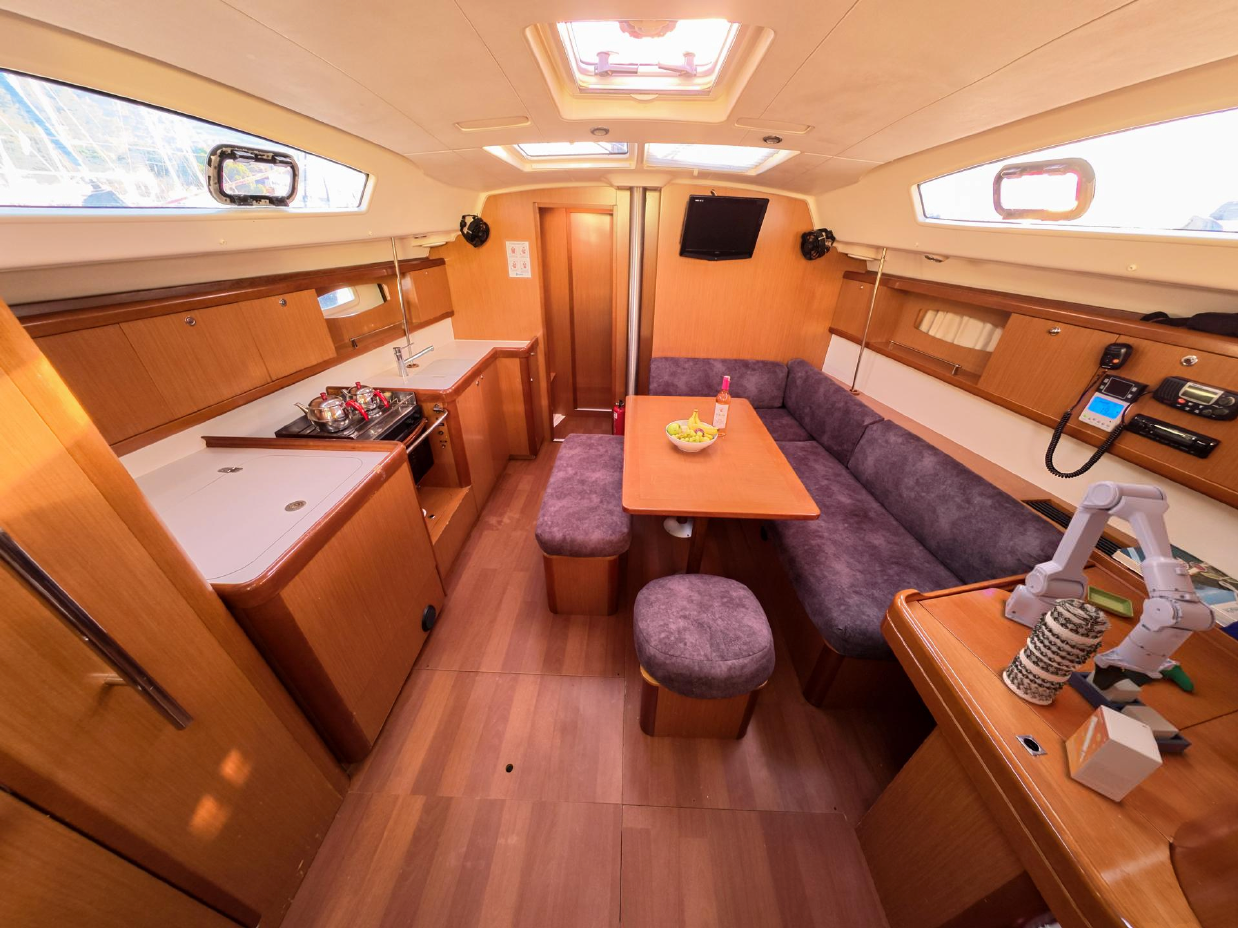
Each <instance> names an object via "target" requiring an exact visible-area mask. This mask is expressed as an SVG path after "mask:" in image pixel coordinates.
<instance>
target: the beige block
mask: <svg viewBox="0 0 1238 928" xmlns="http://www.w3.org/2000/svg"><path fill="white" fill-rule="evenodd" d="M1121 713H1123V714H1124V715H1126V716H1128V717H1130V718H1132V719H1135V720H1137V721H1139V722H1141V723H1143V724H1145V725H1148V726H1150V728H1151V731H1152V733H1153V736H1154V739H1171V738H1172V737H1173V736H1174V735H1175V734H1177V733H1180V730H1179V729H1177V727H1175V726H1174V725H1173V724H1172V723H1171V722H1170V721H1168V720H1167V719H1166V718H1165V717H1164V716H1162V715H1161V714H1160V713H1159V712H1158V711H1156V710H1155V709H1154V708H1153V707H1151V706H1149V705H1147V706H1126V707H1125V708H1124V709H1123V710H1122V711H1121Z"/></svg>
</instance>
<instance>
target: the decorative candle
mask: <svg viewBox="0 0 1238 928" xmlns="http://www.w3.org/2000/svg"><path fill="white" fill-rule="evenodd" d="M1041 615H1042V616H1041V617H1040V620H1038V621H1037V623H1038V624H1036V625H1035V626H1034V627H1035V628H1032V631H1030V632H1029V636H1028V637H1027V640H1026V646H1025V647H1023V648H1022V649H1021V650H1020V651H1018V652H1017V653H1016V655H1015V656H1014V657H1013V659H1012V660H1011V661H1010V662H1009V664H1008V665H1007V666H1006V668H1005V671H1003V672H1002V673H1003V674H1002V679H1003V681H1004V683H1005V684H1006V685H1007V686H1008V688H1009V689H1010V690H1011V691H1012V692H1014V693H1015V694H1017V695H1018V696H1019V697H1020V698H1022V699H1024V700H1026V701H1028V702H1030V703H1033V704H1036V705H1040V706H1041V705H1043V706H1047V705H1050V704H1051V703H1052V702H1053V700H1056V696H1058V695H1060V693H1059V692H1061V691H1062V690H1063V689H1064V687H1065V686H1067V685H1068V683H1069V682H1068V678H1069V677H1070V676H1071V673H1072V672H1074V671H1077V670H1079V669H1080V668H1081V667H1082V665H1085V664H1087V661H1088V659H1089V660H1090V659H1092V655H1093V654H1097V652H1098V649H1099V648H1102V647H1103V644H1102V643H1103V642H1102V638H1103V635H1104V634H1105V633H1107V632H1106V631H1108V630H1110V629H1112V622H1111V621H1110V620H1109V619H1108V617H1107V616H1106V614H1105V612H1103V611H1102V609H1101V608H1099V607H1096V606H1094V605H1092V604H1090V603H1089V602H1087V601H1084V600H1083V599H1082V600H1078V599H1057V600H1055V606H1054V607H1053V610H1051V611H1049V612H1048V613H1042V614H1041ZM1045 616H1046V618H1045Z"/></svg>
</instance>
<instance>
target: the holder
mask: <svg viewBox="0 0 1238 928" xmlns="http://www.w3.org/2000/svg"><path fill="white" fill-rule="evenodd" d="M1092 672H1093V671H1072V673H1071V676H1070V677H1069V678H1068V682H1067V683H1069V685H1071V687H1073V689H1075V690H1076V691H1077V692H1078V693H1079V694H1080V695H1081V696H1082V697H1083V698H1084V699H1085V700H1086V701H1088V703H1090V704H1091V706H1093V707H1094V708H1095V709H1096V710H1097V709H1098V708H1099V707H1100V705H1103V706H1105V707H1107V708H1110V709H1112V710H1114V711H1116V712H1119V713H1121V711H1122V710H1123V709H1124V708H1125V707H1126V706H1148V705H1147V704H1146V703H1144V702H1143V701H1142V700H1141V699H1140V698H1138V696H1137V697H1136V698H1135V699H1134V700H1133V701H1132V702H1109V701H1108V700H1107V699H1106V698H1105V697H1104V696H1103V695H1102V694H1100V693H1099V692H1098V691H1097V690H1096V689H1095V688H1094V687H1093V686H1092V685H1090V684H1089V683H1088V682H1087V681H1086V679H1087V678H1088V676H1089V675H1090V674H1091V673H1092ZM1121 714H1123V713H1121ZM1123 715H1124V714H1123ZM1155 741H1156V743H1157V746H1158V750H1159V753H1173V754H1177V753H1178V754H1183V752H1184V751H1186V750H1188V749H1189V747H1190V746H1192V745H1193V743H1191V742H1190V741H1189V740H1188V739H1187V738H1186V737H1185V736H1184V735H1182V734H1181V733H1180V732H1178V733H1177V734H1175V735H1174V736H1173V737H1172V738H1171V739H1155Z"/></svg>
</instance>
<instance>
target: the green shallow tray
mask: <svg viewBox="0 0 1238 928" xmlns="http://www.w3.org/2000/svg"><path fill="white" fill-rule="evenodd" d="M1087 601H1088V603H1090V604H1092V605H1094V606H1095V607H1097V608H1098V609H1100V610H1104V611H1106V612H1109V613H1111V614H1114V615H1116V616H1119V617H1121V618H1131V617H1134V610H1133V602H1132V600H1131V599H1127V598H1125V597H1122V596H1120V595H1117V594H1114V593H1111V592H1108V591H1106V590H1104V589H1101V588H1098V587H1095V586H1093V585H1088V584H1087Z"/></svg>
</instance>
